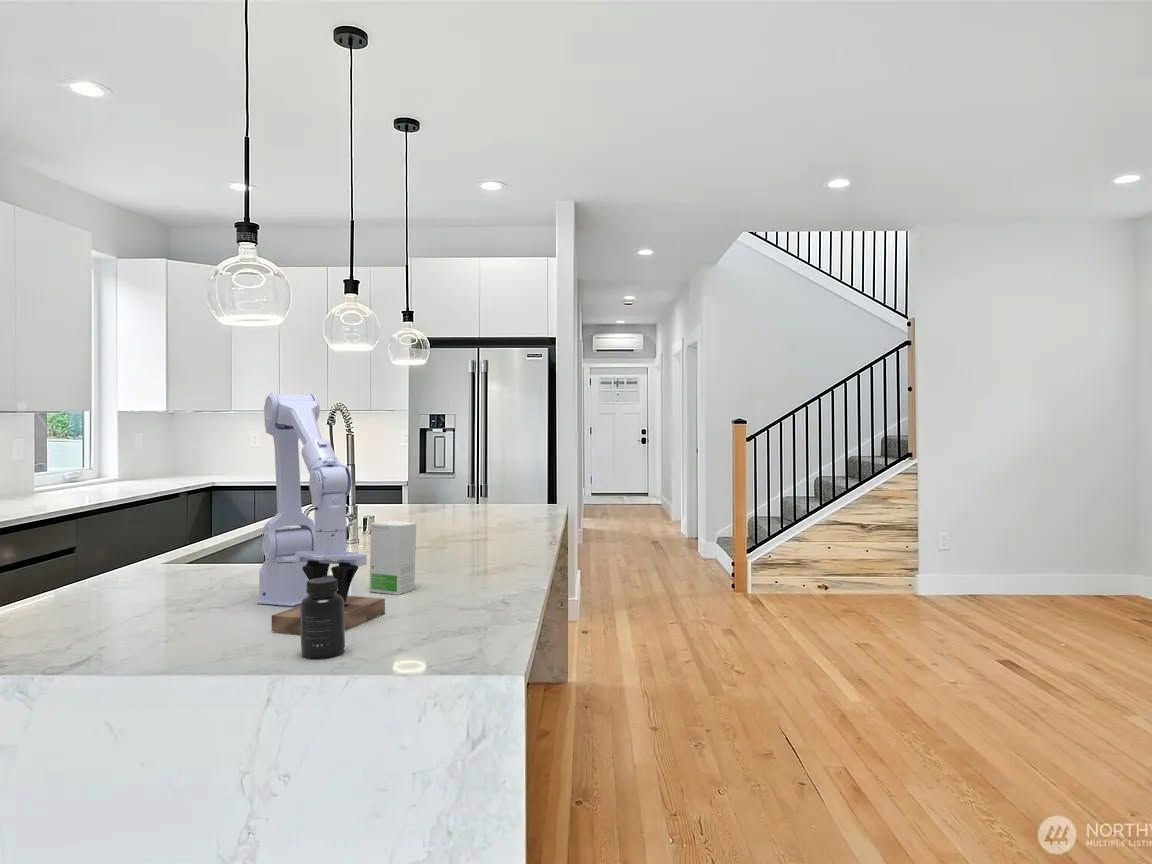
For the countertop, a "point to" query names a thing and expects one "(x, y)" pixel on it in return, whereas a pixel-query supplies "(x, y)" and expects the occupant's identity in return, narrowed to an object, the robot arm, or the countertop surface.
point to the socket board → (354, 614)
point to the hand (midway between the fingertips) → (330, 601)
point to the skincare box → (392, 557)
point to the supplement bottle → (322, 620)
